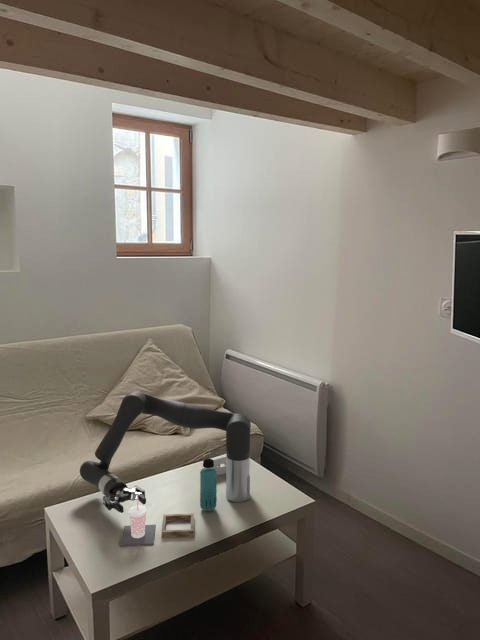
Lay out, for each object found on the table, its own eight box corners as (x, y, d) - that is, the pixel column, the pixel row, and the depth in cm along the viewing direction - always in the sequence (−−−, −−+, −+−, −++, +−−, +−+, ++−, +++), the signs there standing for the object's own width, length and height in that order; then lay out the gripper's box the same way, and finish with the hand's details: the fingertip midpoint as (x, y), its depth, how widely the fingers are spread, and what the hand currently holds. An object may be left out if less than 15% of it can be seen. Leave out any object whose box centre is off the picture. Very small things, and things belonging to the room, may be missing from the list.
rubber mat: (155, 526, 175) (155, 524, 175) (153, 545, 164) (153, 543, 164) (124, 527, 174) (124, 525, 174) (119, 546, 163) (119, 544, 163)
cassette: (211, 477, 211) (211, 461, 210) (209, 476, 213) (209, 459, 211) (234, 471, 218) (235, 454, 216) (232, 469, 219) (232, 453, 218)
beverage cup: (127, 531, 171) (126, 494, 168) (144, 527, 173) (144, 490, 171) (131, 541, 165) (130, 502, 163) (149, 537, 167) (148, 499, 165)
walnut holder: (193, 518, 180) (193, 513, 180) (193, 536, 169) (193, 531, 169) (163, 519, 179) (163, 514, 179) (161, 537, 168) (161, 532, 168)
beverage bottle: (203, 516, 182) (204, 465, 178) (196, 507, 187) (196, 458, 184) (219, 512, 185) (220, 462, 181) (212, 503, 190) (212, 455, 187)
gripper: (94, 483, 176) (114, 502, 164) (129, 472, 185) (151, 489, 173) (94, 503, 177) (115, 523, 165) (130, 490, 186) (152, 508, 174)
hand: (133, 505), depth 169 cm, fingers open, 8 cm apart
